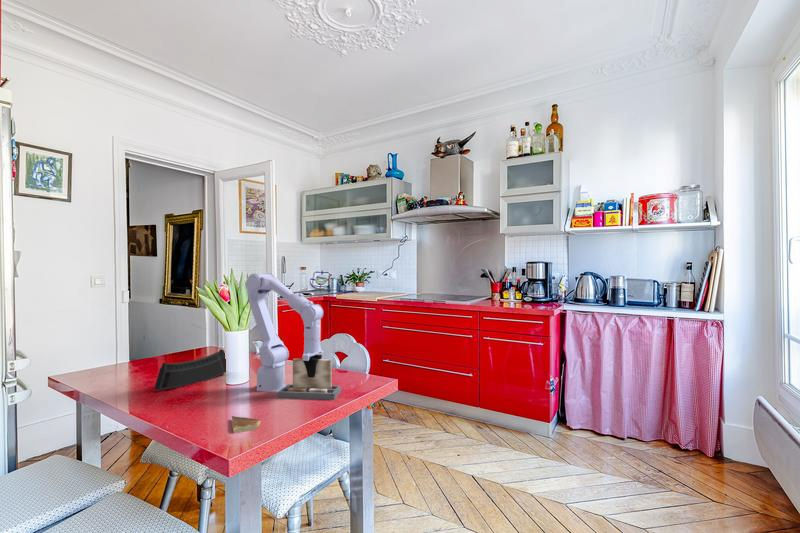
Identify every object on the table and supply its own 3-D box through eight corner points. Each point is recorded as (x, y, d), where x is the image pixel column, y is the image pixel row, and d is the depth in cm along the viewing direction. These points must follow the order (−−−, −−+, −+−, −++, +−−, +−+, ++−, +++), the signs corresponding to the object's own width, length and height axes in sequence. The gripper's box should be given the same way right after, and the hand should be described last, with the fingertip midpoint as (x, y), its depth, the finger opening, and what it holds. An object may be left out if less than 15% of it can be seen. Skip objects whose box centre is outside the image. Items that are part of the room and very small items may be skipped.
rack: (277, 399, 132) (277, 392, 132) (288, 390, 142) (288, 383, 142) (333, 401, 130) (333, 394, 130) (341, 392, 140) (341, 385, 140)
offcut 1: (288, 396, 133) (288, 389, 133) (290, 394, 135) (290, 387, 135) (304, 397, 133) (304, 389, 133) (306, 395, 135) (306, 388, 135)
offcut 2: (308, 397, 133) (308, 390, 133) (310, 395, 135) (310, 388, 135) (325, 397, 132) (325, 390, 132) (327, 395, 134) (327, 388, 134)
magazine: (151, 370, 137) (223, 334, 162) (146, 369, 138) (219, 333, 163) (165, 412, 141) (234, 370, 166) (160, 410, 142) (229, 369, 167)
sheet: (292, 387, 138) (292, 359, 138) (294, 386, 139) (294, 358, 139) (330, 388, 136) (330, 360, 136) (331, 387, 138) (331, 359, 138)
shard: (231, 421, 114) (231, 414, 114) (258, 417, 118) (258, 411, 118) (232, 435, 105) (232, 428, 105) (261, 430, 108) (262, 424, 108)
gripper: (316, 342, 130) (316, 382, 130) (329, 335, 145) (328, 371, 145) (296, 342, 131) (296, 381, 131) (310, 335, 146) (310, 370, 145)
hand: (312, 376), depth 138 cm, fingers closed on sheet, 1 cm apart
